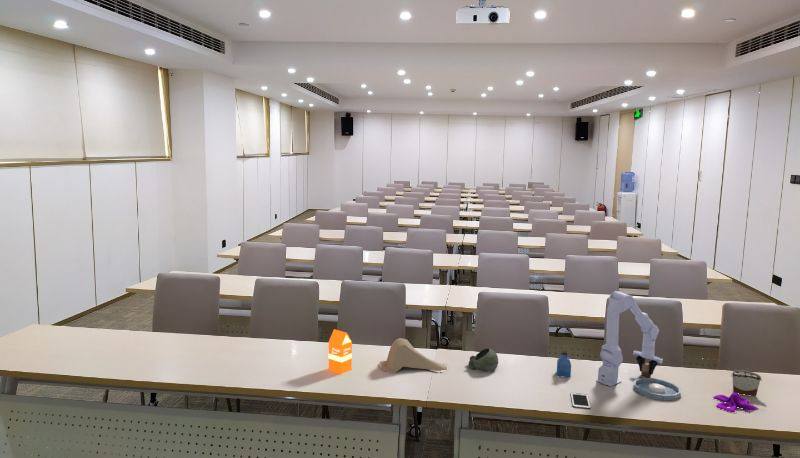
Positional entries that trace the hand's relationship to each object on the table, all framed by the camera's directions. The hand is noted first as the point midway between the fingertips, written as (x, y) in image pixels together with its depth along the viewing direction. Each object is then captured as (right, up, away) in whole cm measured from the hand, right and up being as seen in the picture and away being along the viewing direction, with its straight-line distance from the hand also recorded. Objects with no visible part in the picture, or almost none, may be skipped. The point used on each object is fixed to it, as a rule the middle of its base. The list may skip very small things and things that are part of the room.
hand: (646, 372), depth 286 cm
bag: (-116, +1, +5) cm, 116 cm away
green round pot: (-81, +1, +6) cm, 81 cm away
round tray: (-3, -4, -18) cm, 18 cm away
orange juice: (-153, +2, -1) cm, 153 cm away
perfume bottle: (-42, -1, -1) cm, 42 cm away
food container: (+38, -5, -17) cm, 42 cm away
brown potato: (0, -2, 0) cm, 2 cm away
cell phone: (-43, -6, -31) cm, 53 cm away
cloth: (+27, -7, -31) cm, 42 cm away
